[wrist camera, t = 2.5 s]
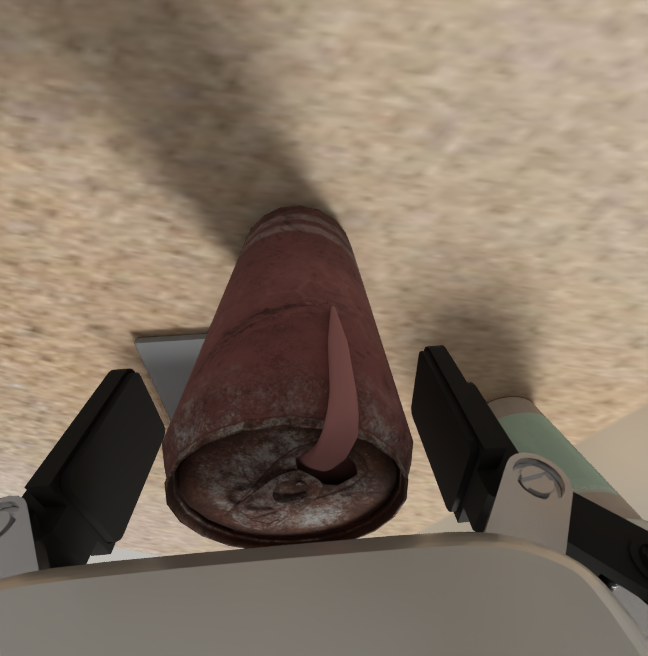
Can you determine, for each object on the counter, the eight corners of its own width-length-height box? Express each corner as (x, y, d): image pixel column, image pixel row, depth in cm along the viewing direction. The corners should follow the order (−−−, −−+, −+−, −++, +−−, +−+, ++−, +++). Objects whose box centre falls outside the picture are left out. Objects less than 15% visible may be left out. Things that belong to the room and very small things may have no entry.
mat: (137, 337, 21) (134, 343, 21) (350, 324, 22) (351, 329, 21) (211, 495, 33) (210, 501, 32) (349, 486, 33) (350, 491, 33)
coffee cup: (482, 460, 32) (561, 622, 22) (431, 423, 28) (498, 597, 18) (568, 415, 28) (708, 583, 19) (523, 367, 25) (667, 544, 15)
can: (366, 212, 17) (483, 428, 6) (336, 311, 21) (374, 566, 10) (251, 185, 16) (129, 385, 5) (240, 294, 20) (154, 558, 8)
